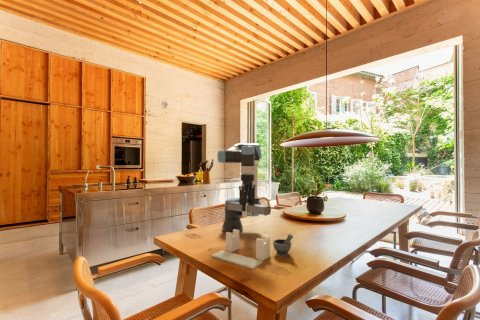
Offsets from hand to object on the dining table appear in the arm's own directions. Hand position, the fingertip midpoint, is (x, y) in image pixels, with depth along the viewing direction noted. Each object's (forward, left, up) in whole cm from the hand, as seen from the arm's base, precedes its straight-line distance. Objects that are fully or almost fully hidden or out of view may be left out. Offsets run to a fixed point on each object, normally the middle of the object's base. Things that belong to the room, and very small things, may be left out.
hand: (247, 216), depth 133 cm
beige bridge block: (-10, 0, -21) cm, 23 cm away
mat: (0, -10, -21) cm, 23 cm away
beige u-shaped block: (+10, 0, -21) cm, 23 cm away
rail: (0, 0, +3) cm, 3 cm away
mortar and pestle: (+17, +10, -21) cm, 29 cm away
